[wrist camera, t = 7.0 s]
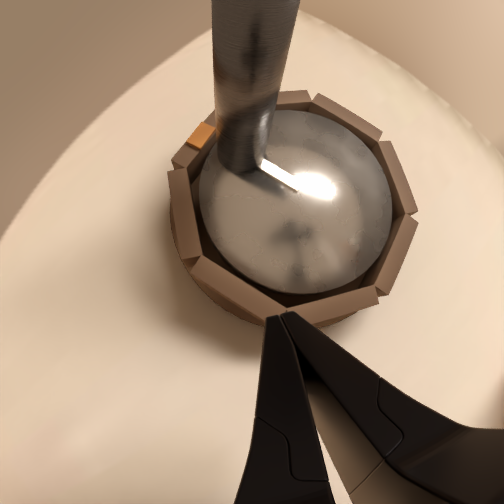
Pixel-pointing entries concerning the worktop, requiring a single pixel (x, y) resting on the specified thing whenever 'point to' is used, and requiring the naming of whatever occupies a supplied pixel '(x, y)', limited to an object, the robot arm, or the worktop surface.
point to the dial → (284, 167)
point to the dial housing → (260, 300)
